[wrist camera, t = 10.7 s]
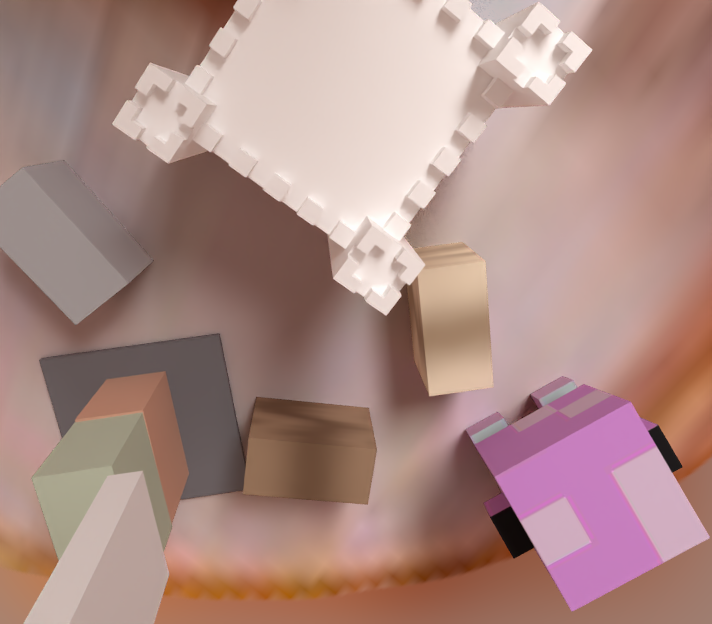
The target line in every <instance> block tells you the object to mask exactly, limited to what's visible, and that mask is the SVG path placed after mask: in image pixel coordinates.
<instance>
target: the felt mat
mask: <svg viewBox="0 0 712 624" xmlns="http://www.w3.org/2000/svg"><path fill="white" fill-rule="evenodd" d="M39 361H40V364H41V368H42V371H43V375H44V378H45V381H46V385H47V388H48V391H49V395H50V398H51V402H52V405H53V408H54V412H55V415H56V418H57V422H58V425H59V429H60V432H61V435H62V438H63V437H64V436H65V434H66V433H67V432H68V430H69V429H70V428H71V427H72V425H73V424H74V423H75V419H76V418H77V416H78V415H79V414H80V412H81V411H82V410H83V409H84V407H85V406H86V405H87V404H88V402H89V401H90V400H91V398H92V397H93V396H94V395H95V393H96V392H97V391H98V390H99V388H100V387H101V386H102V384H103V383H104V382H105V381H106V379H112V378H120V377H127V376H134V375H141V374H148V373H156V372H163V371H166V375H167V380H168V384H169V389H170V393H171V397H172V402H173V406H174V410H175V415H176V419H177V423H178V428H179V432H180V436H181V441H182V445H183V449H184V454H185V458H186V462H187V467H188V471H189V475H188V478H187V481H186V484H185V487H184V490H183V493H182V495H181V498H180V499H187V498H194V497H201V496H207V495H214V494H221V493H228V492H235V491H242V490H243V488H244V478H245V468H246V463H245V459H244V454H243V449H242V444H241V439H240V434H239V429H238V424H237V419H236V414H235V409H234V404H233V399H232V394H231V389H230V384H229V379H228V374H227V369H226V364H225V359H224V354H223V349H222V344H221V339H220V334H212V335H205V336H198V337H191V338H183V339H176V340H169V341H162V342H155V343H147V344H140V345H133V346H126V347H118V348H111V349H104V350H97V351H90V352H82V353H75V354H68V355H61V356H53V357H46V358H41V359H40V360H39Z"/></svg>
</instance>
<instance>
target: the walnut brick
mask: <svg viewBox="0 0 712 624" xmlns="http://www.w3.org/2000/svg"><path fill="white" fill-rule="evenodd" d="M376 452H377V448H376V443H375V438H374V432H373V427H372V422H371V417H370V412H369V408H363V407H353V406H343V405H333V404H323V403H312V402H302V401H292V400H282V399H272V398H261V397H256V402H255V407H254V412H253V417H252V423H251V428H250V433H249V438H248V448H247V458H246V468H245V478H244V488H243V494H245V495H257V496H270V497H282V498H294V499H306V500H319V501H331V502H343V503H355V504H367V505H368V500H369V494H370V488H371V482H372V476H373V470H374V464H375V458H376Z"/></svg>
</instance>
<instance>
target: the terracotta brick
mask: <svg viewBox="0 0 712 624" xmlns="http://www.w3.org/2000/svg"><path fill="white" fill-rule="evenodd" d="M141 412H143V416H144V420H145V424H146V428H147V432H148V435H149V439H150V443H151V447H152V451H153V455H154V458H155V462H156V466H157V470H158V474H159V478H160V481H161V485H162V489H163V493H164V497H165V501H166V505H167V508H168V512H169V516H170V520H171V524H172V522H173V519H174V516H175V513H176V510H177V507H178V504H179V501H180V498H181V495H182V493H183V490H184V487H185V484H186V481H187V478H188V475H189V471H188V467H187V462H186V458H185V454H184V449H183V445H182V441H181V436H180V432H179V428H178V423H177V419H176V415H175V410H174V406H173V402H172V397H171V393H170V389H169V384H168V380H167V375H166V371H163V372H156V373H148V374H141V375H134V376H127V377H120V378H112V379H106V381H105V382H104V383H103V384H102V386H101V387H100V388H99V390H98V391H97V392H96V393H95V395H94V396H93V397H92V398H91V400H90V401H89V402H88V404H87V405H86V406H85V407H84V409H83V410H82V411H81V412H80V414H79V415H78V416H77V418H76V419H75V422H81V421H88V420H95V419H101V418H108V417H115V416H121V415H128V414H135V413H141Z"/></svg>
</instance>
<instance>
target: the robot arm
mask: <svg viewBox="0 0 712 624" xmlns="http://www.w3.org/2000/svg"><path fill="white" fill-rule="evenodd" d="M168 577H169V571H168V567H167V563H166V559H165V556H164V552H163V548H162V544H161V540H160V536H159V532H158V528H157V524H156V521H155V517H154V513H153V509H152V505H151V501H150V497H149V493H148V489H147V486H146V482H145V478H144V474H143V471H137V472H130V473H123V474H116V475H109V476H107V478H106V479H105V481H104V483H103V485H102V486H101V488H100V490H99V492H98V493H97V495H96V497H95V499H94V501H93V502H92V504H91V506H90V508H89V509H88V511H87V513H86V515H85V516H84V518H83V520H82V522H81V523H80V525H79V527H78V529H77V530H76V532H75V534H74V536H73V537H72V539H71V541H70V543H69V544H68V546H67V548H66V550H65V551H64V553H63V555H62V557H61V558H60V560H59V562H58V564H57V565H56V567H55V569H54V571H53V572H52V574H51V576H50V578H49V579H48V581H47V583H46V585H45V586H44V588H43V590H42V592H41V593H40V595H39V597H38V599H37V601H36V602H35V604H34V606H33V608H32V609H31V611H30V613H29V615H28V616H27V618H26V620H25V621H24V623H23V624H154V622H155V619H156V615H157V612H158V609H159V606H160V603H161V599H162V596H163V593H164V590H165V587H166V583H167V580H168Z"/></svg>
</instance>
